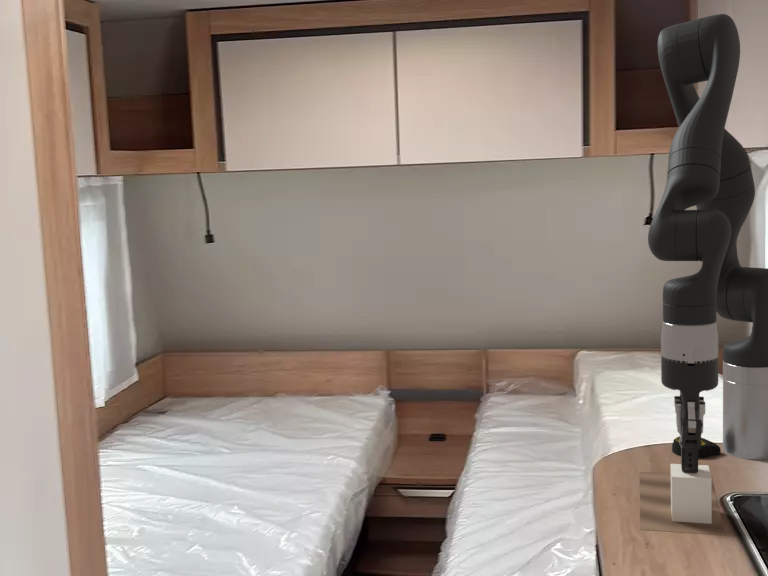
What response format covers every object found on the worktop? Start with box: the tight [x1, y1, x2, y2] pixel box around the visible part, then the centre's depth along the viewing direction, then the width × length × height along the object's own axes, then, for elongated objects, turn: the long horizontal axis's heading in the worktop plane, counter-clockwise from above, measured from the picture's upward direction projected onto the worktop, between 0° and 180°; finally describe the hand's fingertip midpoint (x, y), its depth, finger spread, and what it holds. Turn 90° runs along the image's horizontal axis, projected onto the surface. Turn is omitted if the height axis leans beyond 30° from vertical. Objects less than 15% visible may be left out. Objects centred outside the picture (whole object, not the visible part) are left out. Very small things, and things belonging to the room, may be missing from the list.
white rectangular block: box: [670, 463, 712, 524], centre depth 119 cm, size 5×5×7 cm
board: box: [639, 471, 726, 536], centre depth 125 cm, size 22×11×2 cm, turn 163°
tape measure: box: [671, 435, 722, 459], centre depth 144 cm, size 7×7×4 cm
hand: (689, 471), depth 118 cm, fingers closed
